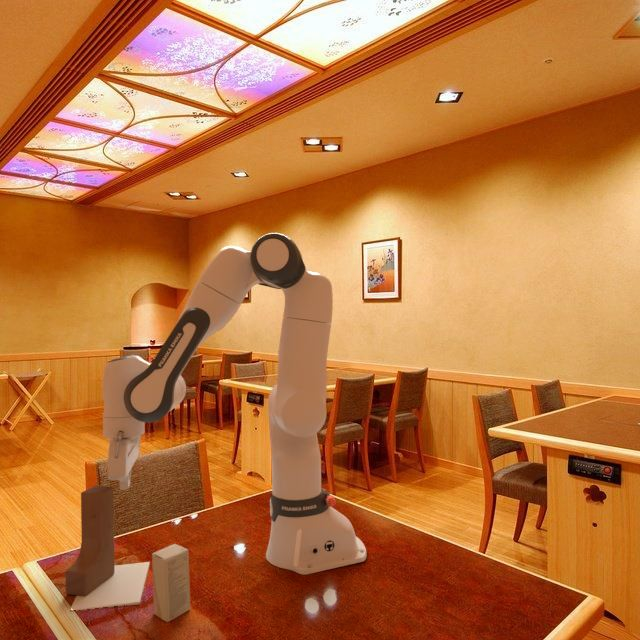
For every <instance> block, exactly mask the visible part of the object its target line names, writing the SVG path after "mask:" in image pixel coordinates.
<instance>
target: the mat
mask: <svg viewBox="0 0 640 640" xmlns="http://www.w3.org/2000/svg"><path fill="white" fill-rule="evenodd" d="M150 562H151V561H144V562H134V563H126V564H116V565H114V574H113V575H112V576H111V577H110V578H108V579H107V580H106V581H104V582H103V583H102V584H100V585H99V586H98V587H96V588H95V589H94V590H93V591H91V592H90V593H89V594H87V595H86V596H79V595H75V598H74V601H73V602H72V605H71V606H70V608H72V609H73V610H76V611H75V612H77V611H79V610H80V611H88V610H87V609H90V610H96V609H95V608H99V609H104V608H103V607H108V608H114V606H118V607H124V605H125V607H126V605H127V606H136V605H140V604H141V600H142V596H143V593H144V588H145V584H146V580H147V576H148V573H149V569H150V565H151V563H150Z"/></svg>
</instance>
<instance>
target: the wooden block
mask: <svg viewBox="0 0 640 640" xmlns="http://www.w3.org/2000/svg"><path fill="white" fill-rule="evenodd" d="M114 505H115V504H114V487H113V486H102V485H95V486H92V487H90V488H88V489H85V490H83V491H82V492H81V493H80V516H81V517H80V518H81V521H80V523H81V525H80V526H81V529H80V530H81V543H80V549H79V550H80V551H79V554H78V556H77V558H76V560H75V562H74V563H72V565H71V566H69V567H68V568H67V569H66V570H65V573H64V574H65V577H64V578H65V594H66V595H71V596H72V595H74V596H77V595H79V596H86V595H87V594H89V593H90V592H91V591H93V590H94V589H95V588H96V587H98V586H99V585H100V584H102V583H103V582H104V581H106V580H107V579H108V578H110V577H111V576H112V575H113V574H114V566H115V529H114V528H115V524H114V523H115V518H114V516H115V515H114V514H115V513H114V512H115V511H114Z"/></svg>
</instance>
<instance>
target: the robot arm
mask: <svg viewBox="0 0 640 640" xmlns="http://www.w3.org/2000/svg"><path fill="white" fill-rule="evenodd" d="M256 285H259V286H262V287H269V288H272V289H276V290H282V292H283V295H284V306H283V307H284V309H283V314H282V317H283V318H282V323H281V329H280V338H279V345H278V351H277V352H278V353H277V354H278V355H277V356H278V357H277V359H278V360H277V361H278V362H277V365H278V366H277V381H276V384H275V385H273V387H272V389H271V390H270V392H269V395H268V399H267V404H268V405H267V406H268V407H267V408H268V409H267V410H268V427H269V441H270V452H271V453H270V454H271V484H272V485H271V490H272V491H271V492H270V497H269V498H270V499H269V515H270V519H271V525H270V535H269V541H268V545H267V549H266V553H265V559H266V560H267V562H269V563H270V564H271V565H273V566H275V567H277V568H281V569H285V570H289V571H292V572H295V573H296V574H300V575H303V576H304V575H305V576H306V575H310V574H314V573H319V572H323V571H326V570H327V571H328V570H332V569H336V568H337V569H338V568H340V567H345V566H349V565H355V564H357V563H362V562H363V563H364V562H365V561H366V559H367V556H368V555H367V548H366V546H365V544H364V543H363V541H362V539H360V538H359V537H358V536H356V532H355V529H354V527H353V525H352V523H351V521H350V520H349V519H348V518H347V516H345V514H342V513H341V512H339V511H338V510H337V509H335V508H334V506H335V505H336V504H337V503H336V502H337V501H336V499H335V497H334V496H333V495H331V494H330V492H328V491H327V490H326V489H325V488H322V467H321V466H322V464H321V463H322V462H321V461H322V458H321V457H322V456H321V452H320V446H319V440H318V439H319V438H318V432H319V431H320V430H321V429H322V428H323V426H324V425H325V423H326V420H327V415H328V414H327V412H328V411H327V388H328V387H327V384H328V382H327V381H328V379H327V378H328V377H327V374H328V373H327V365H328V364H327V361H328V359H327V358H328V350H329V344H330V343H329V342H330V334H331V327H332V320H333V319H332V318H333V310H334V309H333V308H334V307H333V304H334V303H333V301H334V300H333V297H334V296H333V286H332V282H331V281H330V279H328V277H326V275H323V274H322V273H319V272H315V271H311V270H307V269H306V265H305V262H304V260H303V255H302V252H301V251H300V248H299V247H298V245H297V243H295V241H293V239H292V238H290V237H289V236H287V235H285V234H283V233H279V232H270V233H266V234H264V235H262V236H260V237H259V238H258V239H257V240H256V241H255V242H254V244H253V245H252V247H251V249H250V251H248V250H245V249H244V248H241V247H239V246H236V245H235V246H234V245H229V246H224V247H223V248H221V249H220V250H219V252H217V254H216V255H215V256H214V257H213V258H212V260H210V262H209V263H208V265H207V266H206V267H205V269H204V270H203V272H202V273H201V275H200V276H199V279H198V280H197V281H196V283H195V284H194V287H193V289H192V291H191V293H190V295H189V297H188V299H187V301H186V303H185V306H184V308H183V310H182V312H181V314H180V316H179V318H178V320H177V322H176V323H175V326H174V328H173V329H172V331H171V332H170V334H169V335H168V337H167V339H166V340H165V342H164V343H163V345H162V347H160V349H159V351H158V353H157V354H156V355H155V357H154V358H153V360H152V362H148V361H147V360H146V359H143V358H142V356H140V355H137V354H131V355H127V356H122V357H121V356H120V357H115V358H113V359H111V360H108V361H107V363H106V364H105V366H104V369H103V375H102V399H103V404H104V407H103V412H102V436H103V438H105V439H108V440H109V442H108V443H109V446H108V450H107V451H108V453H107V477H108V479H109V481H119V490H120V491H127V490H128V489H129V487H130V485H131V475H132V468H133V466H134V464H135V462H136V461H137V459H138V457H139V454H140V449H141V438H142V437H141V436H143V435H144V434H145V433H146V430H145V429H146V427H145V426H146V425H145V424H146V423H156V422H159V421H160V420H162V419H163V418H164V417H166V416H167V415H168V413H169V412H171V411H172V410H173V409H175V408H176V407H178V406H179V405H180V404H181V403H182V402H183V401H184V399H185V397H186V395H187V383H186V379H185V378H184V377H183V375H182V374H183V371H184V370H185V368H186V367H187V365H188V363H189V361H190V360H191V359H192V357H193V355H194V354H195V352H196V351H197V349H198V348H199V347H200V346H201V345H202V344H203V343H204V342H205V341H206V340H207V339H208V338H210V337H212V336H213V335H214V334H216V333H217V332H219V331H221V330H222V329H224V328H225V327H226V325H228V323H229V322H230V321H231V320H232V319H233V317H234V316H235V315H236V313H237V312H238V310H239V308H240V307H241V304H243V302H244V300H245V298H246V296H247V295H248V294H249V292H250V290H251V289H252V288H253V287H255V286H256Z"/></svg>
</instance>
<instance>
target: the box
mask: <svg viewBox="0 0 640 640" xmlns="http://www.w3.org/2000/svg"><path fill="white" fill-rule="evenodd" d="M189 555H190V554H189V549H188V548H186V547H183V546H182V545H179V544H176V543H173V544H171V545H168V546H166V547H164V548H162V549H161V548H160V549H158V550H156V551H155V552H152V554H151V560H152V562H151V563H152V564H151V565H152V566H151V567H152V590H153V591H152V592H153V593H152V594H153V599H152V600H153V601H152V602H153V614H154V615H155V616H157V617H158V618H159V619H161V620H162V621H164V622H166V623H169V622H170V621H172V620H175V619H176V618H178V617H179V616H181V615H183V614H185V613H186V612H188V611H189V610H190V609H191V594H190V593H191V590H190V588H191V587H190V586H191V585H190V584H191V583H190V564H189V562H190V559H189V558H190V556H189Z"/></svg>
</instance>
